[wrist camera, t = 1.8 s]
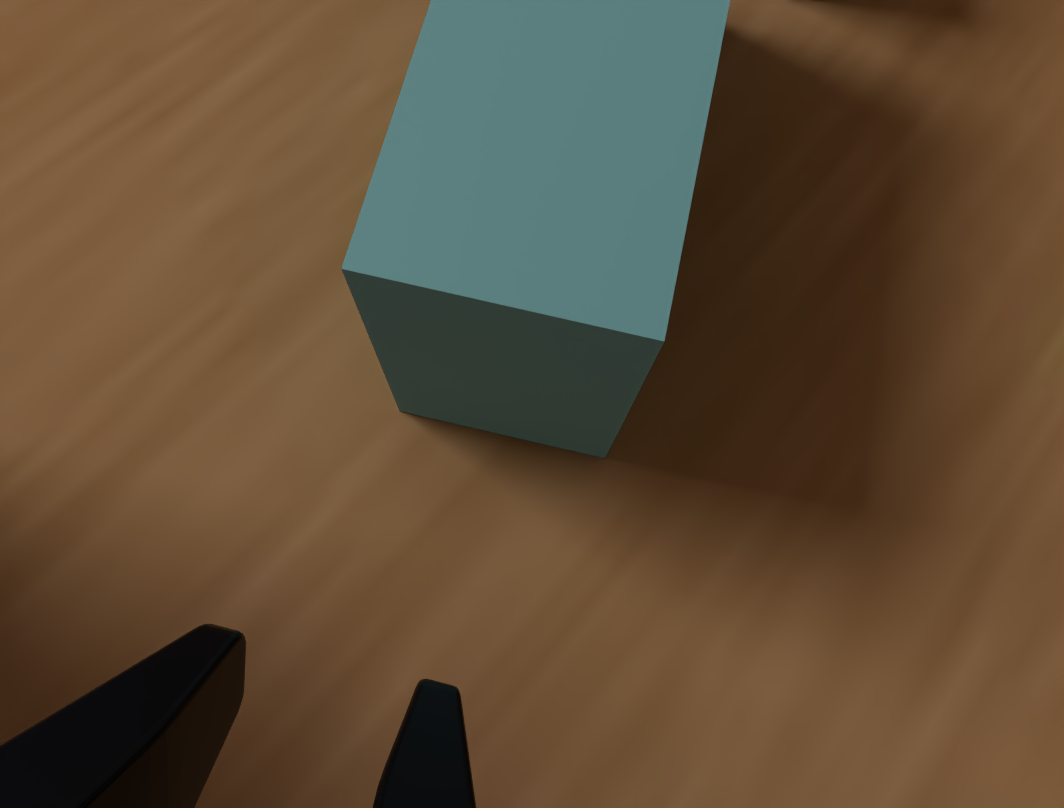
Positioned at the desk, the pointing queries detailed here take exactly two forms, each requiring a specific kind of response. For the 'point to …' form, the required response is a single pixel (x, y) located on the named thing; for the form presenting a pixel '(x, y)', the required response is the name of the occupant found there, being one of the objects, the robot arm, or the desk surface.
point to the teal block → (535, 210)
